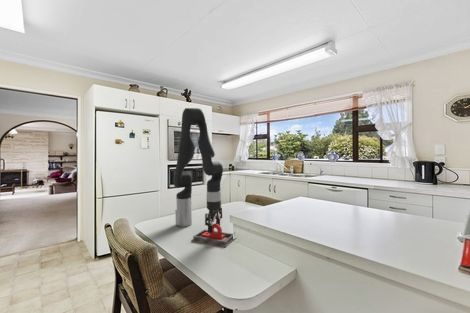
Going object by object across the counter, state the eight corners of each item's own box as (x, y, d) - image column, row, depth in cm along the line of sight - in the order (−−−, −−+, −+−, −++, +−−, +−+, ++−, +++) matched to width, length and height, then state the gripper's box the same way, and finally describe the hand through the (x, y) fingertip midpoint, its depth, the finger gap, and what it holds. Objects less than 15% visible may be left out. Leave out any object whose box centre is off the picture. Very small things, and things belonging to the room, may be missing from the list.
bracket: (225, 237, 118) (224, 222, 118) (220, 240, 114) (220, 225, 114) (206, 233, 123) (205, 219, 123) (201, 236, 119) (201, 222, 119)
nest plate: (191, 241, 115) (191, 236, 115) (204, 232, 127) (204, 228, 127) (225, 247, 107) (225, 243, 107) (236, 237, 118) (236, 233, 118)
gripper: (213, 203, 108) (213, 235, 109) (226, 197, 121) (226, 226, 122) (200, 201, 111) (200, 233, 112) (214, 196, 124) (214, 224, 125)
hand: (214, 229), depth 117 cm, fingers open, 8 cm apart
